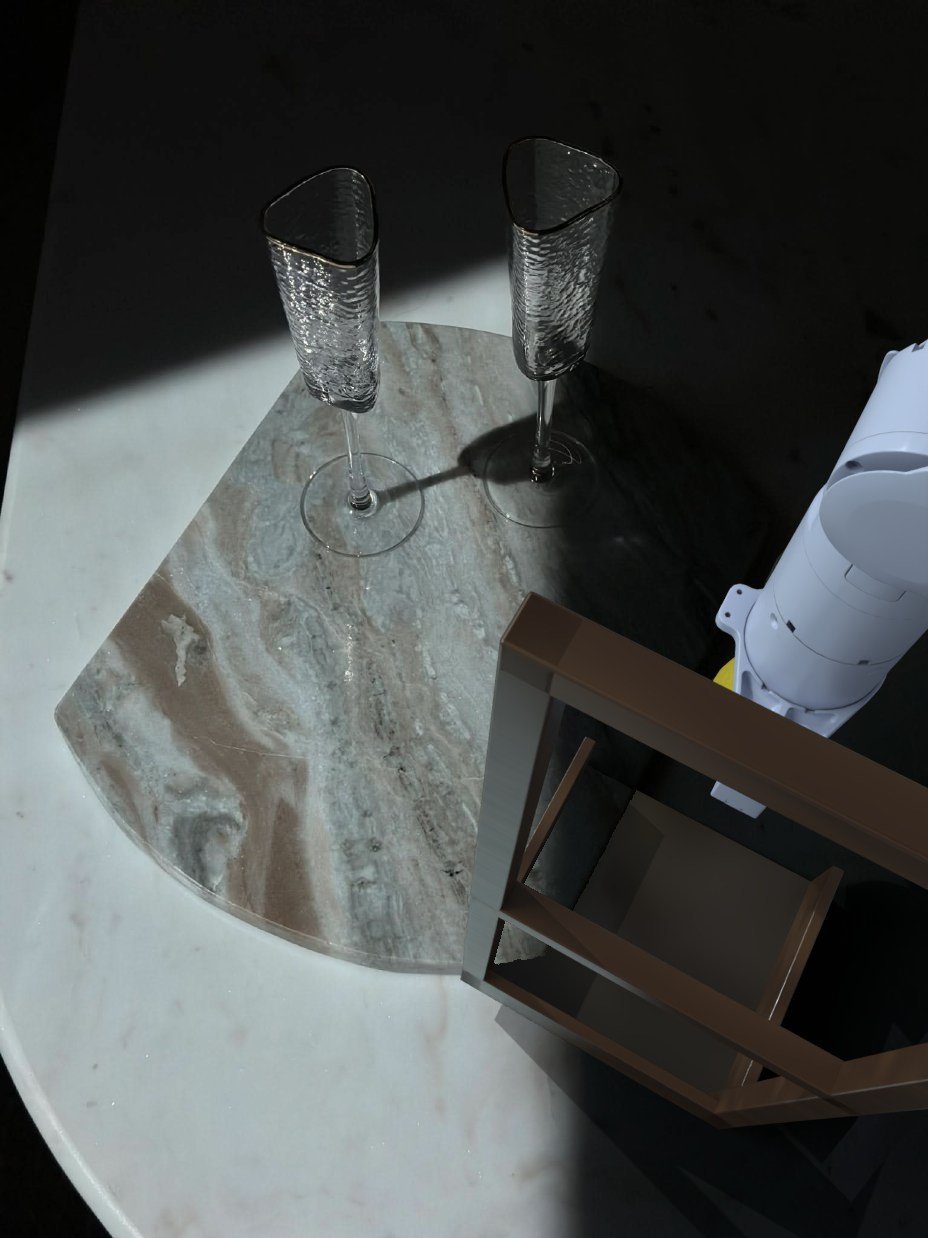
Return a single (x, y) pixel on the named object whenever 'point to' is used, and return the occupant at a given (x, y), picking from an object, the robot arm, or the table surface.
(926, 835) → the rack
